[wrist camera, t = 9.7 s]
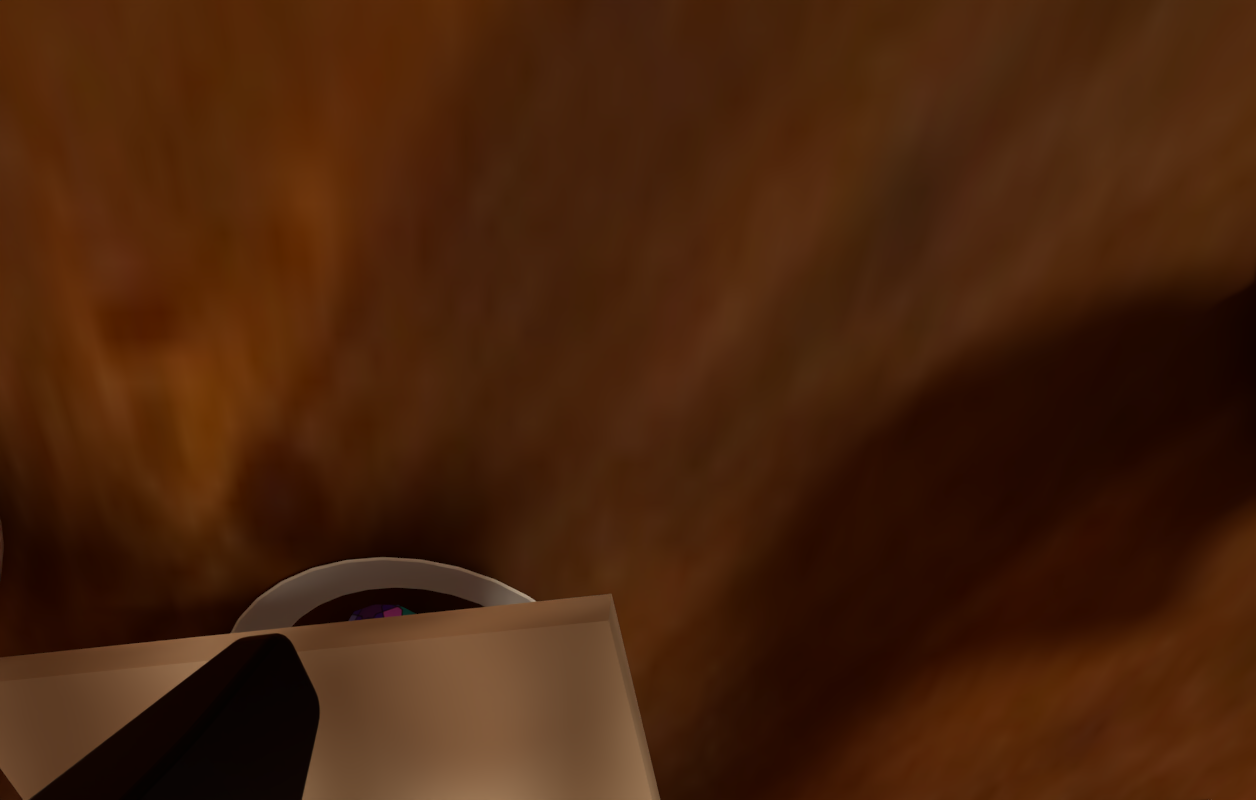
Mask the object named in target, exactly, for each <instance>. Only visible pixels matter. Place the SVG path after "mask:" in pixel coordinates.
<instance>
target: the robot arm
mask: <svg viewBox="0 0 1256 800" xmlns="http://www.w3.org/2000/svg"><path fill="white" fill-rule="evenodd" d="M319 719H320V704H319V699H318V695H317V693H316V690H315V688H314V686H313V684H312V682H311V680H310V678H309V676H308V674H307V672H306V670H305V668H304V666H303V664H302V662H301V660H300V658H299V656H298V654H297V652H296V650H295V647H294V645H293V644H292V642H291V640H290V639H288V638H287V637H286V636H285V635H283V634H279V633H272V634H264V635H255V636H247V637H243V638H240V639H238V640H236V641H235V642H233V643H232V644H230V645H229V646H228V647H226V648H225V649H224V650H223V651H221V652H220V653H219V654H217V655H216V656H215V657H213V658H212V659H211V660H210V661H208V662H207V663H206V664H204V665H203V666H202V667H200V668H199V669H198V670H197V671H195V672H194V673H193V674H191V675H190V676H189V677H187V678H186V679H185V680H184V681H182V682H181V683H180V684H178V685H177V686H176V687H174V688H173V689H172V690H170V691H169V692H168V693H167V694H165V695H164V696H163V697H161V698H160V699H159V700H157V701H156V702H155V703H154V704H152V705H151V706H150V707H148V708H147V709H146V710H144V711H143V712H142V713H141V714H139V715H138V716H137V717H135V718H134V719H133V720H131V721H130V722H129V723H127V724H126V725H125V726H124V727H122V728H121V729H120V730H118V731H117V732H116V733H114V734H113V735H112V736H111V737H109V738H108V739H107V740H105V741H104V742H103V743H101V744H100V745H99V746H98V747H96V748H95V749H94V750H92V751H91V752H90V753H88V754H87V755H86V756H85V757H83V758H82V759H81V760H79V761H78V762H77V763H75V764H74V765H73V766H71V767H70V768H69V769H68V770H66V771H65V772H64V773H62V774H61V775H60V776H58V777H57V778H56V779H55V780H53V781H52V782H51V783H49V784H48V785H47V786H45V787H44V788H43V789H42V790H40V791H39V792H38V793H36V794H35V795H34V796H32V797H31V798H30V799H28V800H302V798H303V793H304V789H305V784H306V780H307V775H308V771H309V766H310V762H311V757H312V753H313V748H314V744H315V739H316V734H317V730H318V725H319Z"/></svg>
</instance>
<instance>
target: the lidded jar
mask: <svg viewBox="0 0 1256 800" xmlns="http://www.w3.org/2000/svg"><path fill="white" fill-rule="evenodd" d="M3 551H4V541H3V532H2V524H1V518H0V580H1V571H2V561H3Z"/></svg>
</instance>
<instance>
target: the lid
mask: <svg viewBox="0 0 1256 800" xmlns="http://www.w3.org/2000/svg"><path fill="white" fill-rule="evenodd" d="M272 633H279V634H283V635H285V636H286V637H287V638H288V639H290V640H291V642H292V644H293V645H294V647H295V650H296V652H297V654H298V656H299V658H300V660H301V662H302V664H303V666H304V668H305V670H306V672H307V674H308V676H309V678H310V680H311V682H312V684H313V686H314V688H315V690H316V693H317V695H318V699H319V704H320V719H319V725H318V730H317V734H316V739H315V744H314V748H313V753H312V757H311V762H310V766H309V771H308V775H307V780H306V784H305V789H304V793H303V798H302V800H660V796H659V792H658V788H657V784H656V779H655V775H654V771H653V767H652V763H651V758H650V754H649V750H648V746H647V741H646V737H645V733H644V729H643V725H642V720H641V716H640V712H639V708H638V703H637V699H636V695H635V691H634V687H633V682H632V678H631V674H630V670H629V665H628V661H627V657H626V653H625V649H624V644H623V640H622V636H621V632H620V627H619V623H618V619H617V615H616V611H615V606H614V602H613V598H612V594H605V595H595V596H586V597H576V598H566V599H557V600H547V601H538V602H528V603H518V604H509V605H499V606H490V607H480V608H470V609H461V610H451V611H442V612H432V613H422V614H413V615H403V616H394V617H384V618H374V619H365V620H355V621H346V622H336V623H326V624H317V625H307V626H298V627H288V628H278V629H269V630H259V631H250V632H240V633H230V634H221V635H211V636H201V637H192V638H182V639H173V640H163V641H153V642H144V643H134V644H125V645H115V646H105V647H96V648H86V649H77V650H67V651H57V652H48V653H38V654H29V655H19V656H9V657H0V769H1V770H2V771H3V773H4V774H5V775H6V777H7V778H8V780H9V781H10V782H11V784H12V785H13V786H14V788H15V789H16V791H17V792H18V793H19V795H20V796H21V797H22V799H23V800H28V799H30V798H31V797H32V796H34V795H35V794H36V793H38V792H39V791H40V790H42V789H43V788H44V787H45V786H47V785H48V784H49V783H51V782H52V781H53V780H55V779H56V778H57V777H58V776H60V775H61V774H62V773H64V772H65V771H66V770H68V769H69V768H70V767H71V766H73V765H74V764H75V763H77V762H78V761H79V760H81V759H82V758H83V757H85V756H86V755H87V754H88V753H90V752H91V751H92V750H94V749H95V748H96V747H98V746H99V745H100V744H101V743H103V742H104V741H105V740H107V739H108V738H109V737H111V736H112V735H113V734H114V733H116V732H117V731H118V730H120V729H121V728H122V727H124V726H125V725H126V724H127V723H129V722H130V721H131V720H133V719H134V718H135V717H137V716H138V715H139V714H141V713H142V712H143V711H144V710H146V709H147V708H148V707H150V706H151V705H152V704H154V703H155V702H156V701H157V700H159V699H160V698H161V697H163V696H164V695H165V694H167V693H168V692H169V691H170V690H172V689H173V688H174V687H176V686H177V685H178V684H180V683H181V682H182V681H184V680H185V679H186V678H187V677H189V676H190V675H191V674H193V673H194V672H195V671H197V670H198V669H199V668H200V667H202V666H203V665H204V664H206V663H207V662H208V661H210V660H211V659H212V658H213V657H215V656H216V655H217V654H219V653H220V652H221V651H223V650H224V649H225V648H226V647H228V646H229V645H230V644H232V643H233V642H235V641H236V640H238V639H240V638H243V637H247V636H255V635H264V634H272Z"/></svg>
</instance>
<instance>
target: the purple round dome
mask: <svg viewBox="0 0 1256 800" xmlns="http://www.w3.org/2000/svg"><path fill="white" fill-rule="evenodd" d="M383 588H411V589H425V590H430V591H435V592H440V593H445V594H450V595H454V596H457V597H460V598H463V599H466V600H469V601H472V602H475V603H478V604H480V605H482V606H484V607H490V606H499V605H509V604H518V603H528V602H536V601H535V600H533V599H532V598H531V597H529V596H527V595H525V594H523V593H521V592H519V591H517V590H515V589H513V588H511V587H509V586H507V585H505V584H503V583H501V582H500V581H498V580H495V579H492V578H490V577H487V576H484V575H481V574H478V573H475V572H472V571H469V570H466V569H463V568H461V567H457V566H452V565H447V564H442V563H437V562H432V561H427V560H422V559H407V558H390V557H376V558H364V559H352V560H344V561H339V562H335V563H331V564H327V565H323V566H319V567H315V568H311V569H309V570H306V571H304V572H302V573H299V574H297V575H295V576H292V577H290V578H288V579H285V580H283V581H281V582H280V583H278V584H277V585H275V586H274V587H272V588H271V589H270V590H268V591H267V592H265V593H264V594H262V595H261V596H259V597H258V598H257V599H256V600H255V601H254V602H253V603H252V604H251V605H250V606H249V607H248V609H247V610H246V611H245V612H244V613H243V614H242V615H241V616H240V617H239V618H238V620H237V622H236V624H235V626H234V627H233V629H232V631H231V633H240V632H250V631H259V630H269V629H278V628H288V627H292V626H293V625H294V624H295V623H296V622H297V621H298V620H299V619H300V618H301V617H302V616H304V615H305V614H307V613H308V612H310V611H311V610H313V609H314V608H316V607H317V606H319V605H321V604H323V603H325V602H328V601H330V600H333V599H335V598H337V597H340V596H342V595H347V594H351V593H355V592H360V591H364V590H370V589H383ZM413 614H415V613H413V612H412V611H410V610H408V609H406V608H404V607H402V606H400V605H376V604H374V605H371V606H369V607H366V608H363V609H360V610H357V611H354V612H353V614H352V616H351V617H350V619H349V621H355V620H365V619H374V618H384V617H394V616H403V615H413Z"/></svg>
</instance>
